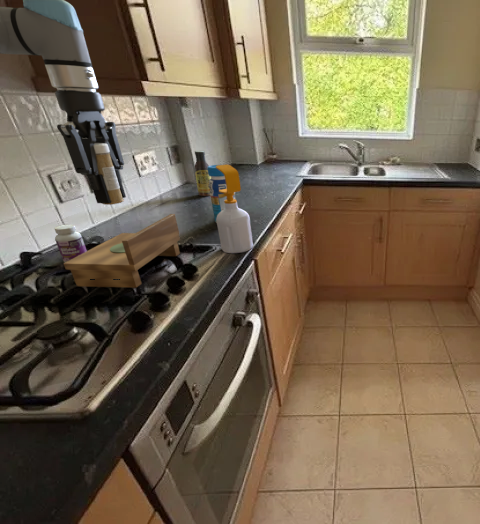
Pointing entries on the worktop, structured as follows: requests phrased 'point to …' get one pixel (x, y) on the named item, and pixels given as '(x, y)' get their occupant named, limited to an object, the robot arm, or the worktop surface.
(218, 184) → the blue canister
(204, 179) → the sauce bottle
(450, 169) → the worktop surface
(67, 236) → the pill bottle
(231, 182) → the soap bottle
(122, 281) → the shelf
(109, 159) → the sprinkles bottle
